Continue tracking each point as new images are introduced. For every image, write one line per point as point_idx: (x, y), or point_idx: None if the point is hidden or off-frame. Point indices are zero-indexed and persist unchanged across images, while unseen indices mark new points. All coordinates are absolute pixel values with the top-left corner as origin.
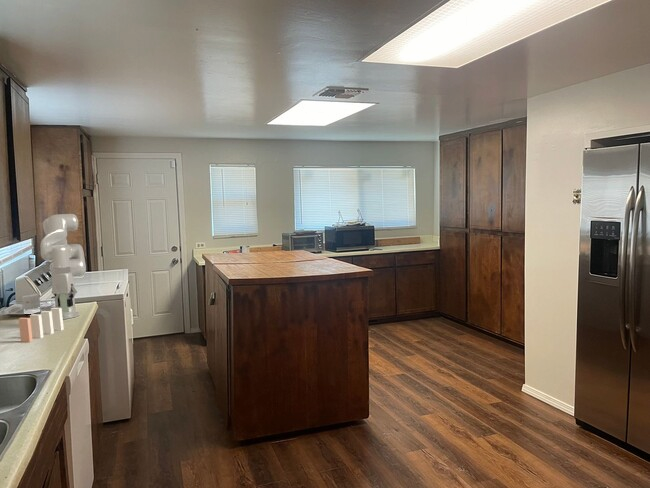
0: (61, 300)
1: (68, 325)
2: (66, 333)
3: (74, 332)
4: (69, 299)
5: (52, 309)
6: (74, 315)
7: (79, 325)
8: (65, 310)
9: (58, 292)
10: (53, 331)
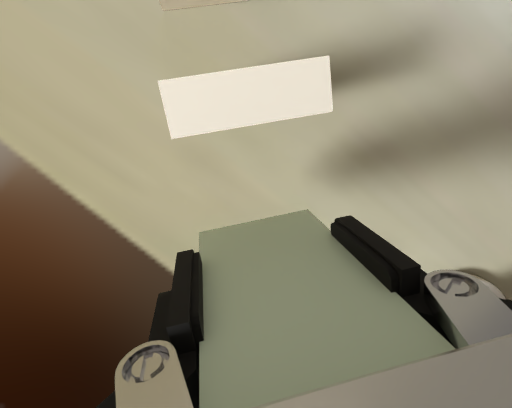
0: (342, 288)
1: (258, 214)
2: (43, 40)
3: (3, 86)
4: (158, 352)
5: (289, 61)
6: None
7: (176, 241)
8: (247, 230)
9: (476, 386)
10: (160, 2)
